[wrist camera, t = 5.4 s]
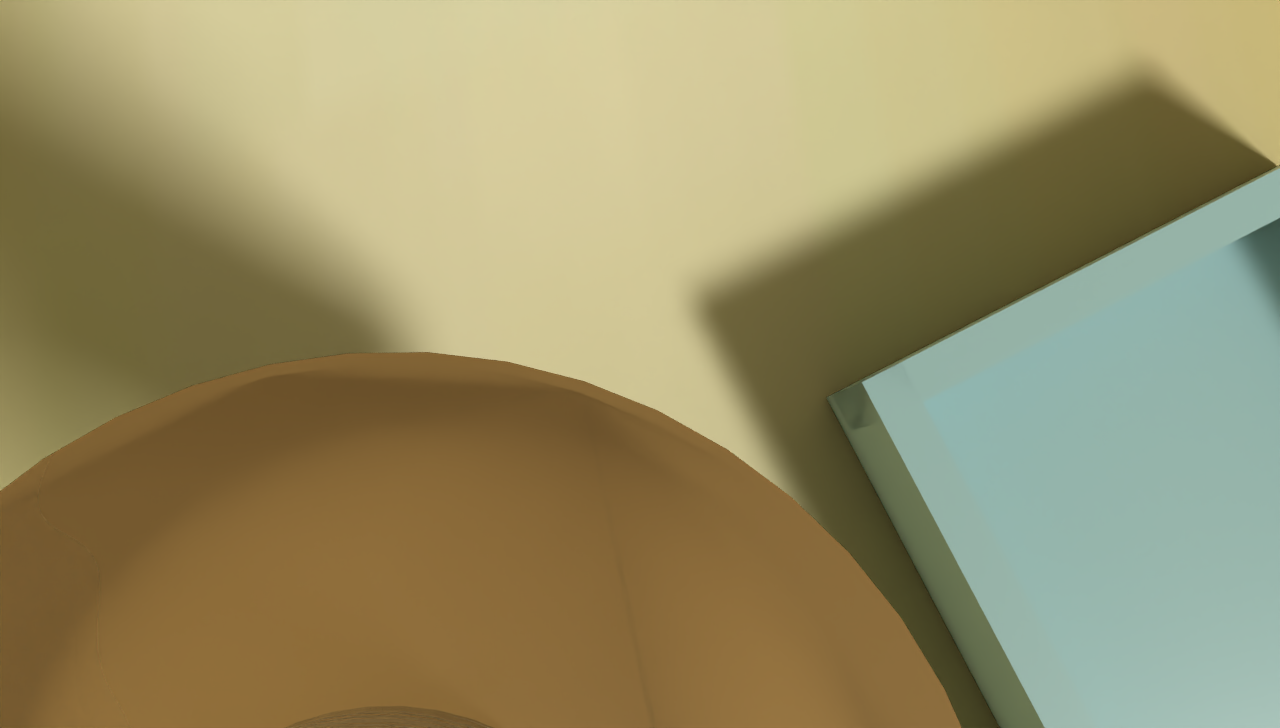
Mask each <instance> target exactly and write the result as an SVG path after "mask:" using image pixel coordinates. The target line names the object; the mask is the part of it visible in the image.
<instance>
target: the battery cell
mask: <svg viewBox="0 0 1280 728" xmlns="http://www.w3.org/2000/svg"><path fill="white" fill-rule="evenodd" d="M0 728H962V727H961V725H960V723H959V721H958V718H957V716H956V714H955V712H954V709H953V707H952V705H951V703H950V701H949V698H948V696H947V694H946V692H945V689H944V688H943V686H942V684H941V683H940V681H939V679H938V678H937V676H936V674H935V673H934V671H933V669H932V668H931V666H930V665H929V663H928V661H927V660H926V658H925V656H924V655H923V653H922V651H921V650H920V648H919V646H918V645H917V643H916V641H915V640H914V638H913V637H912V635H911V633H910V632H909V630H908V628H907V627H906V625H905V623H904V622H903V620H902V618H901V617H900V616H899V615H898V613H897V612H896V611H895V610H894V608H893V607H892V606H891V605H890V603H889V602H888V601H887V600H886V598H885V597H884V596H883V595H882V593H881V592H880V591H879V590H878V588H877V587H876V586H875V584H874V583H873V582H872V581H871V579H870V578H869V577H868V576H867V574H866V573H865V572H864V571H863V569H862V568H861V567H860V566H859V564H858V563H857V562H856V561H855V559H854V558H853V557H852V556H851V554H850V553H849V552H848V551H847V550H846V549H845V548H843V547H842V546H841V545H840V544H839V543H838V542H837V541H836V540H835V539H834V538H833V537H832V536H831V535H830V534H829V533H828V532H827V531H826V530H825V529H824V528H823V527H822V526H821V525H820V524H819V523H818V522H817V521H816V520H815V519H814V518H812V517H811V516H810V515H809V514H808V513H807V512H806V511H805V510H804V509H803V508H802V507H801V506H800V505H799V504H798V503H797V502H796V501H795V500H794V499H793V498H792V497H790V496H789V495H788V494H786V493H785V492H784V491H782V490H781V489H780V488H778V487H777V486H776V485H774V484H773V483H772V482H770V481H769V480H768V479H766V478H765V477H764V476H762V475H761V474H760V473H758V472H757V471H756V470H754V469H753V468H752V467H750V466H749V465H748V464H746V463H745V462H743V461H742V460H741V459H739V458H738V457H737V456H735V455H734V454H733V453H731V452H730V451H729V450H727V449H726V448H724V447H722V446H720V445H718V444H717V443H715V442H713V441H711V440H709V439H708V438H706V437H704V436H702V435H701V434H699V433H697V432H695V431H693V430H692V429H690V428H688V427H686V426H684V425H683V424H681V423H679V422H677V421H675V420H674V419H672V418H670V417H668V416H667V415H665V414H663V413H661V412H659V411H657V410H655V409H652V408H650V407H647V406H645V405H642V404H640V403H637V402H635V401H632V400H630V399H627V398H625V397H622V396H620V395H617V394H615V393H612V392H610V391H607V390H605V389H602V388H600V387H597V386H595V385H592V384H590V383H587V382H585V381H581V380H577V379H573V378H569V377H565V376H561V375H558V374H554V373H550V372H546V371H542V370H538V369H534V368H530V367H526V366H522V365H518V364H514V363H510V362H505V361H497V360H488V359H480V358H472V357H463V356H455V355H446V354H438V353H430V352H416V353H347V354H340V355H333V356H326V357H319V358H312V359H305V360H298V361H290V362H283V363H276V364H269V365H266V366H262V367H258V368H255V369H251V370H247V371H244V372H240V373H236V374H233V375H229V376H226V377H222V378H218V379H215V380H211V381H207V382H204V383H200V384H196V385H193V386H190V387H187V388H185V389H183V390H180V391H178V392H175V393H173V394H171V395H168V396H166V397H163V398H161V399H159V400H156V401H154V402H151V403H149V404H147V405H144V406H142V407H139V408H137V409H135V410H132V411H130V412H127V413H125V414H123V415H120V416H118V417H115V418H114V419H112V420H110V421H108V422H107V423H105V424H103V425H101V426H100V427H98V428H96V429H94V430H93V431H91V432H89V433H87V434H86V435H84V436H82V437H80V438H79V439H77V440H75V441H73V442H72V443H70V444H68V445H67V446H65V447H63V448H61V449H60V450H58V451H56V452H54V453H53V454H51V455H49V456H47V457H46V458H44V459H42V460H41V461H40V462H38V463H37V464H36V465H34V466H33V467H32V468H30V469H29V470H28V471H26V472H25V473H24V474H22V475H21V476H20V477H18V478H17V479H16V480H14V481H13V482H12V483H10V484H9V485H8V486H6V487H5V488H4V489H2V490H1V491H0Z"/></svg>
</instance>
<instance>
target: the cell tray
mask: <svg viewBox="0 0 1280 728" xmlns="http://www.w3.org/2000/svg"><path fill="white" fill-rule="evenodd" d="M826 398H827V400H828V402H829V404H830V406H831V408H832V409H833V411H834V413H835V415H836V417H837V419H838V421H839V423H840V425H841V427H842V428H843V430H844V432H845V434H846V436H847V438H848V440H849V442H850V444H851V446H852V447H853V449H854V451H855V453H856V455H857V457H858V459H859V461H860V463H861V465H862V466H863V468H864V470H865V472H866V474H867V476H868V478H869V480H870V482H871V484H872V486H873V487H874V489H875V491H876V493H877V495H878V497H879V499H880V501H881V503H882V505H883V506H884V508H885V510H886V512H887V514H888V516H889V518H890V520H891V522H892V524H893V525H894V527H895V529H896V531H897V533H898V535H899V537H900V539H901V541H902V543H903V544H904V546H905V548H906V550H907V552H908V554H909V556H910V558H911V560H912V562H913V564H914V565H915V567H916V569H917V571H918V573H919V575H920V577H921V579H922V581H923V583H924V584H925V586H926V588H927V590H928V592H929V594H930V596H931V598H932V600H933V602H934V603H935V605H936V607H937V609H938V611H939V613H940V615H941V617H942V619H943V621H944V622H945V624H946V626H947V628H948V630H949V632H950V634H951V636H952V638H953V640H954V641H955V643H956V645H957V647H958V649H959V651H960V653H961V655H962V657H963V659H964V661H965V662H966V664H967V666H968V668H969V670H970V672H971V674H972V676H973V678H974V680H975V681H976V683H977V685H978V687H979V689H980V691H981V693H982V695H983V697H984V699H985V700H986V702H987V704H988V706H989V708H990V710H991V712H992V714H993V716H994V718H995V719H996V721H997V723H998V725H999V727H1000V728H1280V165H1279V166H1277V167H1275V168H1273V169H1271V170H1269V171H1267V172H1265V173H1263V174H1261V175H1259V176H1257V177H1255V178H1253V179H1251V180H1250V181H1248V182H1246V183H1244V184H1242V185H1240V186H1238V187H1236V188H1234V189H1232V190H1230V191H1228V192H1226V193H1224V194H1222V195H1220V196H1218V197H1216V198H1214V199H1212V200H1211V201H1209V202H1207V203H1205V204H1203V205H1201V206H1199V207H1197V208H1195V209H1193V210H1191V211H1189V212H1187V213H1185V214H1183V215H1181V216H1179V217H1177V218H1175V219H1173V220H1172V221H1170V222H1168V223H1166V224H1164V225H1162V226H1160V227H1158V228H1156V229H1154V230H1152V231H1150V232H1148V233H1146V234H1144V235H1142V236H1140V237H1138V238H1136V239H1134V240H1132V241H1131V242H1129V243H1127V244H1125V245H1123V246H1121V247H1119V248H1117V249H1115V250H1113V251H1111V252H1109V253H1107V254H1105V255H1103V256H1101V257H1099V258H1097V259H1095V260H1093V261H1092V262H1090V263H1088V264H1086V265H1084V266H1082V267H1080V268H1078V269H1076V270H1074V271H1072V272H1070V273H1068V274H1066V275H1064V276H1062V277H1060V278H1058V279H1056V280H1054V281H1053V282H1051V283H1049V284H1047V285H1045V286H1043V287H1041V288H1039V289H1037V290H1035V291H1033V292H1031V293H1029V294H1027V295H1025V296H1023V297H1021V298H1019V299H1017V300H1015V301H1013V302H1012V303H1010V304H1008V305H1006V306H1004V307H1002V308H1000V309H998V310H996V311H994V312H992V313H990V314H988V315H986V316H984V317H982V318H980V319H978V320H976V321H974V322H973V323H971V324H969V325H967V326H965V327H963V328H961V329H959V330H957V331H955V332H953V333H951V334H949V335H947V336H945V337H943V338H941V339H939V340H937V341H935V342H933V343H932V344H930V345H928V346H926V347H924V348H922V349H920V350H918V351H916V352H914V353H912V354H910V355H908V356H906V357H904V358H902V359H900V360H898V361H896V362H894V363H893V364H891V365H889V366H887V367H885V368H883V369H881V370H879V371H877V372H875V373H873V374H871V375H869V376H867V377H865V378H863V379H861V380H859V381H857V382H855V383H854V384H852V385H850V386H848V387H846V388H844V389H842V390H840V391H838V392H836V393H834V394H832V395H830V396H828V397H826Z"/></svg>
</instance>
